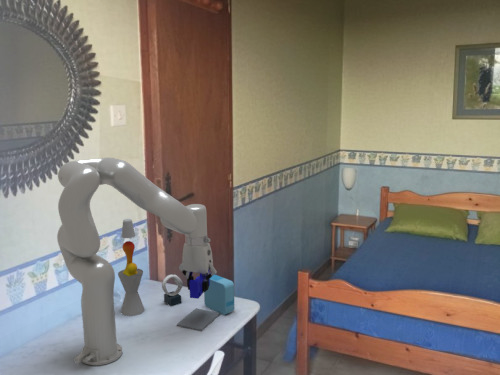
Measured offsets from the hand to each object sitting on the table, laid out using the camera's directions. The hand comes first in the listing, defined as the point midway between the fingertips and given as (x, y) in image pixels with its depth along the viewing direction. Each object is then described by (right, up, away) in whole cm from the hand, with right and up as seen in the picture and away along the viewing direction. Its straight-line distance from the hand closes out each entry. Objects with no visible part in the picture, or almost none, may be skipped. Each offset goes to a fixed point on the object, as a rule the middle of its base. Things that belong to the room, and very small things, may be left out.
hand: (198, 289), depth 177 cm
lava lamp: (-25, -10, +10) cm, 29 cm away
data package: (+7, -10, +11) cm, 16 cm away
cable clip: (0, -1, 0) cm, 1 cm away
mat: (0, -11, +2) cm, 12 cm away
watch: (-11, -9, +17) cm, 22 cm away
